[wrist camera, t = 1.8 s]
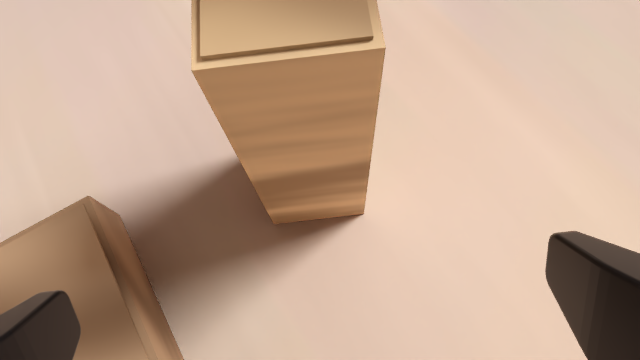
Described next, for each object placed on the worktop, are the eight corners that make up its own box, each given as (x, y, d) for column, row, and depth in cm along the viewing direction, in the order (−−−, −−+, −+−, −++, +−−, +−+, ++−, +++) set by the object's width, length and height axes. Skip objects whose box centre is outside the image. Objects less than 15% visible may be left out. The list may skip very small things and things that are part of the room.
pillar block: (363, 213, 22) (386, 43, 10) (273, 224, 23) (189, 66, 10) (352, 133, 24) (359, -97, 12) (268, 143, 24) (189, -76, 12)
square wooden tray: (193, 380, 20) (167, 384, 17) (-2, 502, 19) (-67, 528, 16) (119, 215, 23) (86, 194, 20) (-53, 309, 22) (-115, 302, 19)
